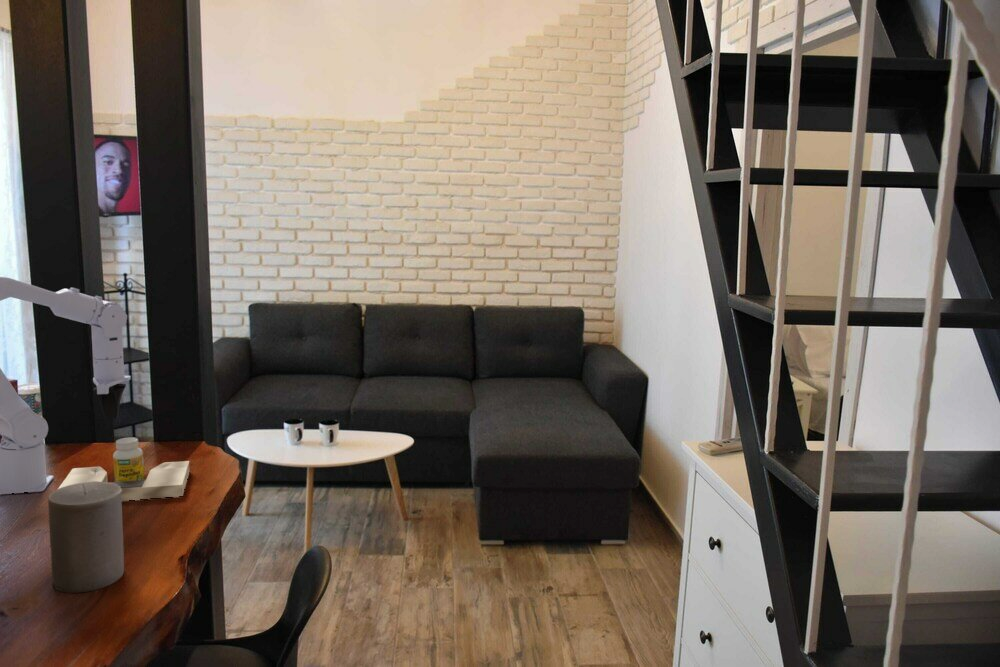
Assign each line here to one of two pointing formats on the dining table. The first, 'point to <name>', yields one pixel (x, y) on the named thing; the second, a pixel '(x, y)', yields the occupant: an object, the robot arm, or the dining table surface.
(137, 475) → the supplement bottle
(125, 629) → the dining table surface
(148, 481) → the jig block
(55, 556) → the pillar candle
